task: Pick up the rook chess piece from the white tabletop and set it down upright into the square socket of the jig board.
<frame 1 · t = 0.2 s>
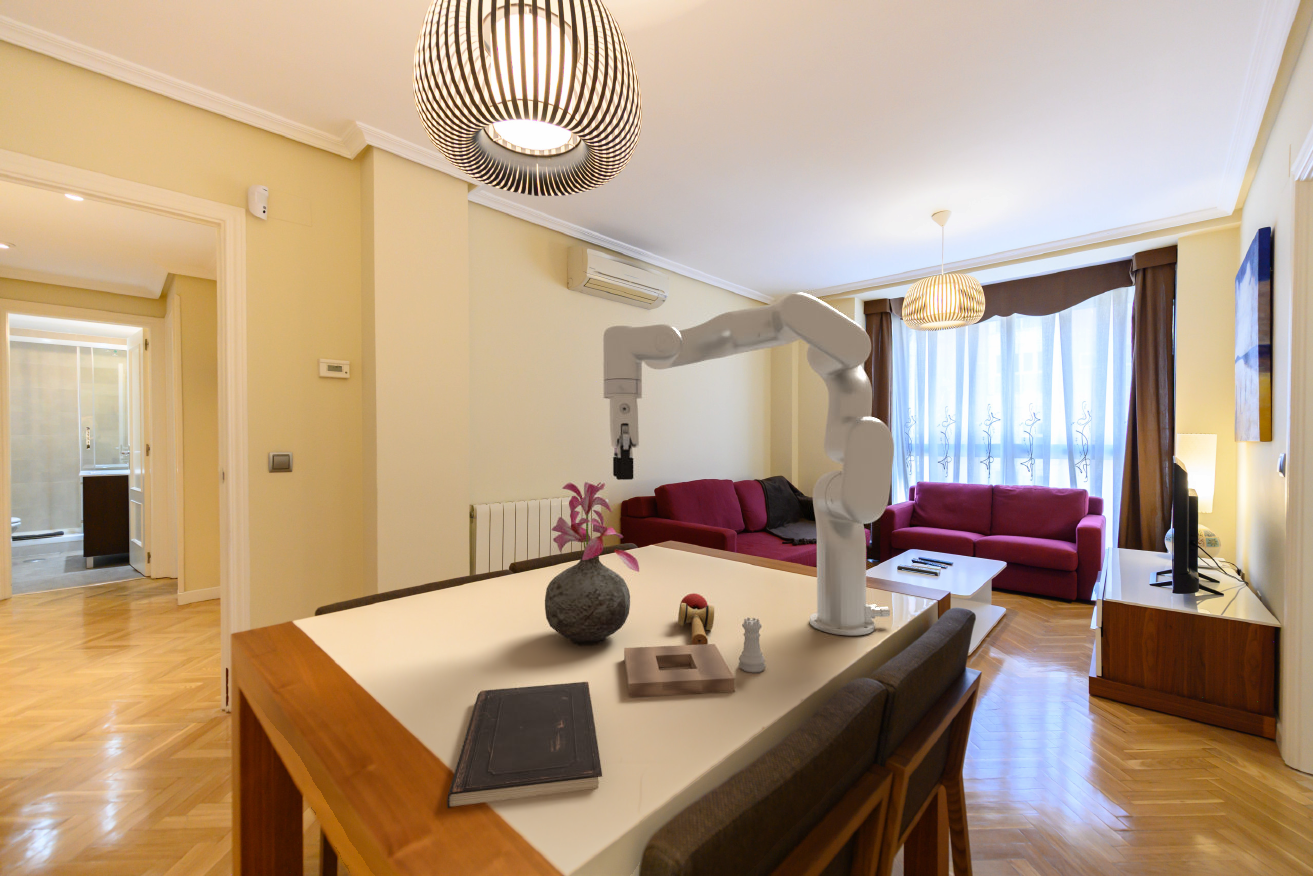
hand: (622, 477, 106), 31 cm above the table, tool pointing down, fingers open, 9 cm apart
vase: (590, 639, 104), on the table
hardcover book: (530, 746, 68), on the table
jig board: (675, 674, 88), on the table
kendama: (696, 634, 107), on the table
rook chess piece: (752, 669, 90), on the table
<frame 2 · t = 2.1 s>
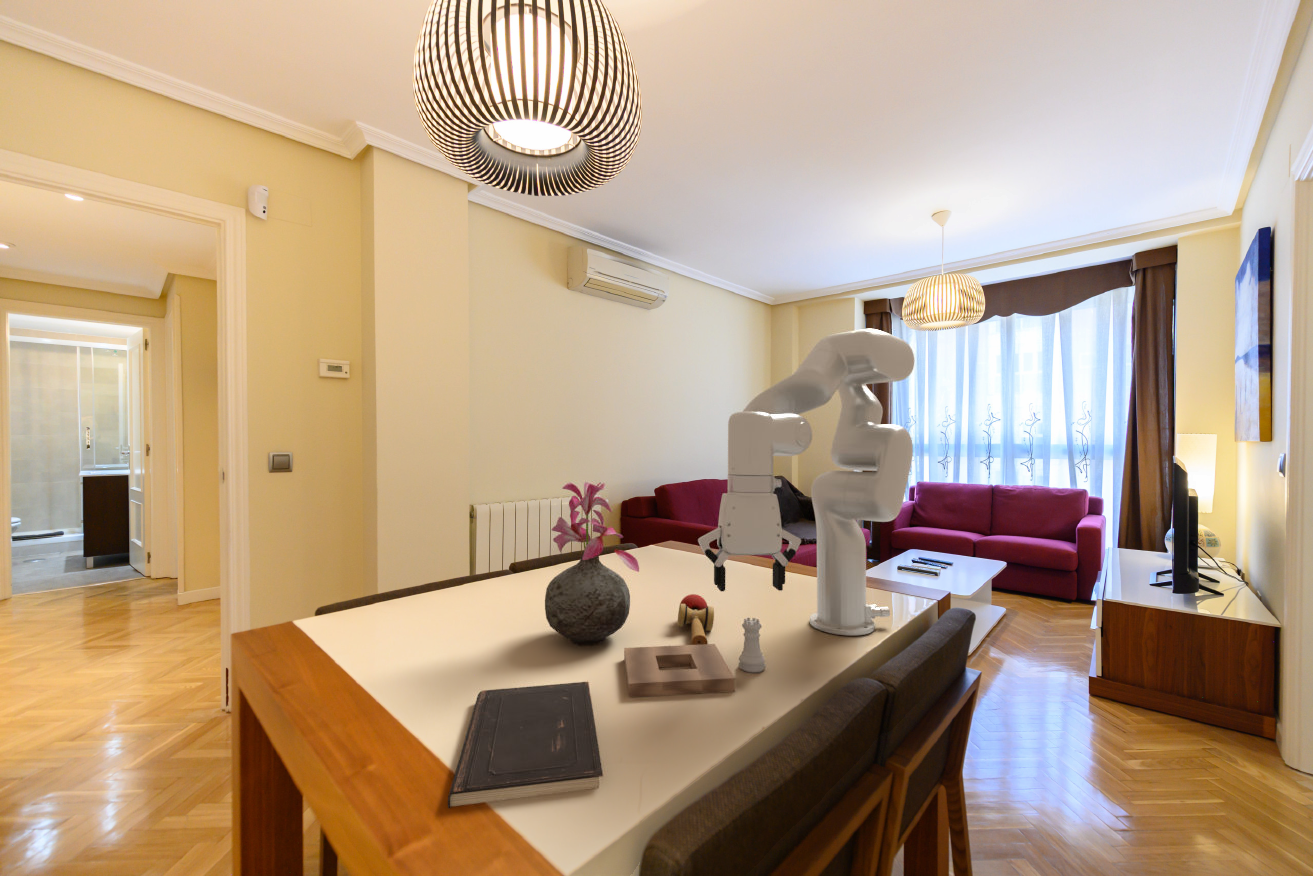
hand: (749, 589, 90), 13 cm above the table, tool pointing down, fingers open, 9 cm apart
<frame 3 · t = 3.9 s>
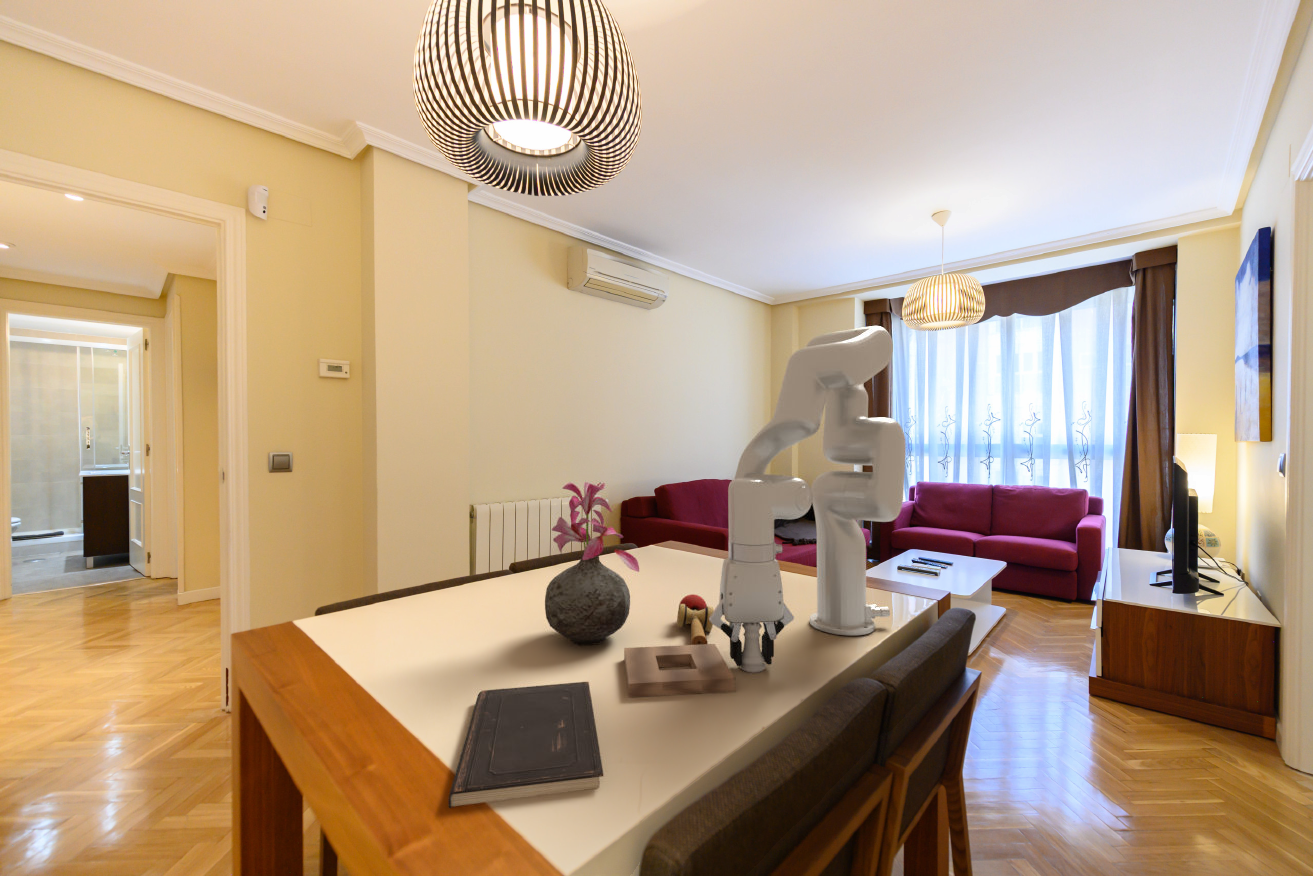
hand: (751, 661, 90), 1 cm above the table, tool pointing down, fingers closed on rook chess piece, 4 cm apart
rook chess piece: (752, 669, 90), on the table, touching gripper
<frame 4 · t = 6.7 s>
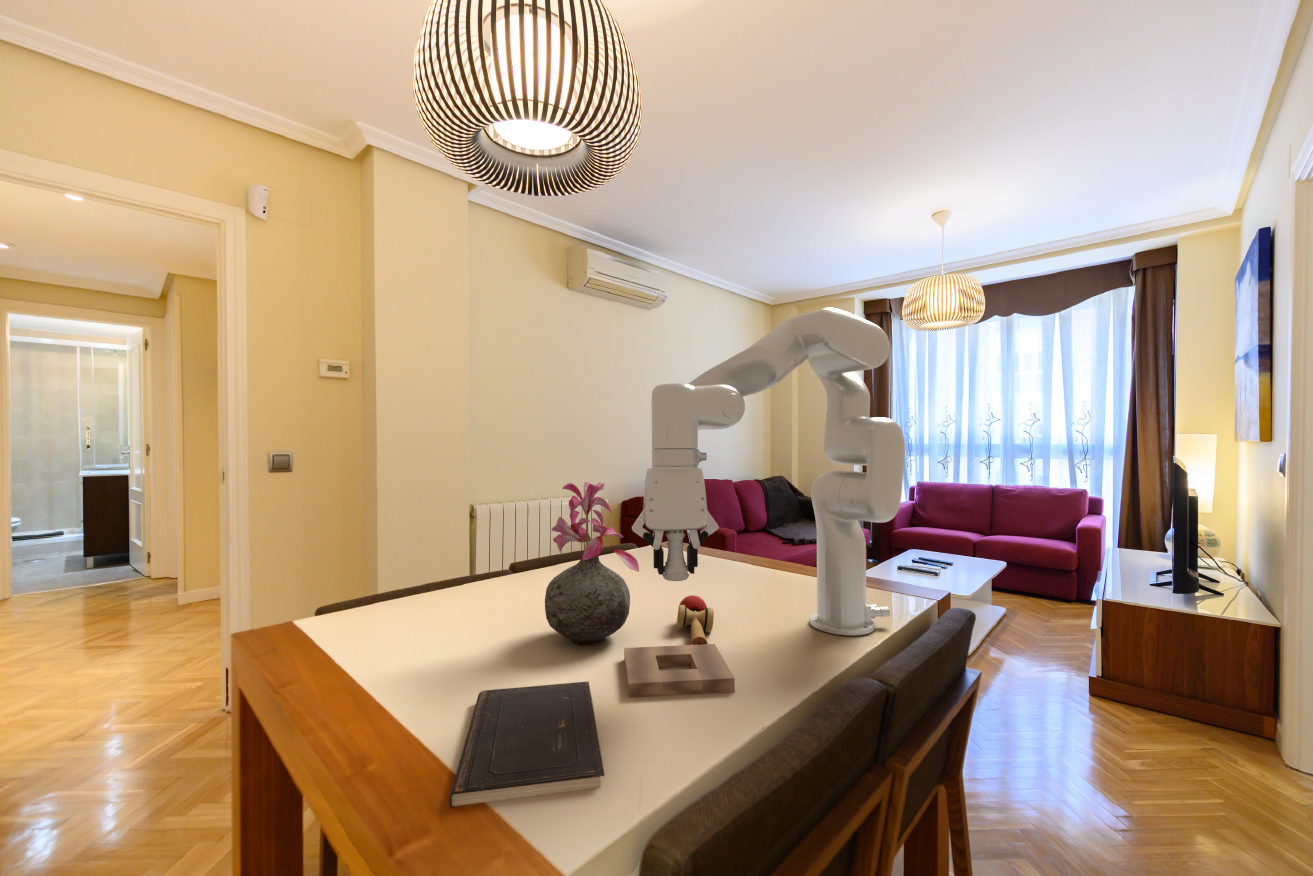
hand: (675, 571, 88), 17 cm above the table, tool pointing down, fingers closed on rook chess piece, 4 cm apart
rook chess piece: (675, 579, 88), point 15 cm above the table, touching gripper
when the fingers open (2 cm above the table, at t = 9.6 s): rook chess piece drops 1 cm, resting in jig board.
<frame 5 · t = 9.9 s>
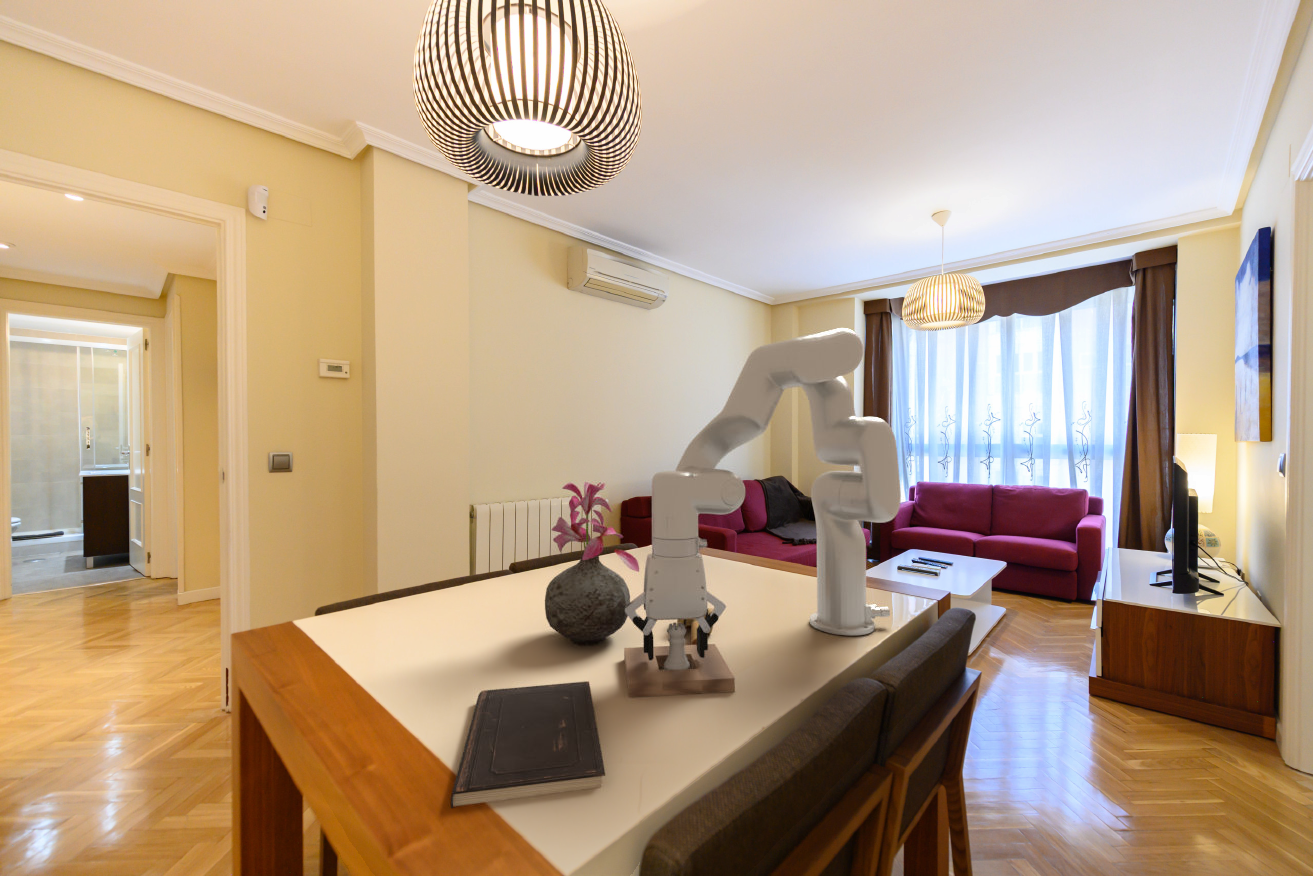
hand: (675, 655, 88), 3 cm above the table, tool pointing down, fingers open, 7 cm apart
rook chess piece: (677, 675, 88), resting in jig board
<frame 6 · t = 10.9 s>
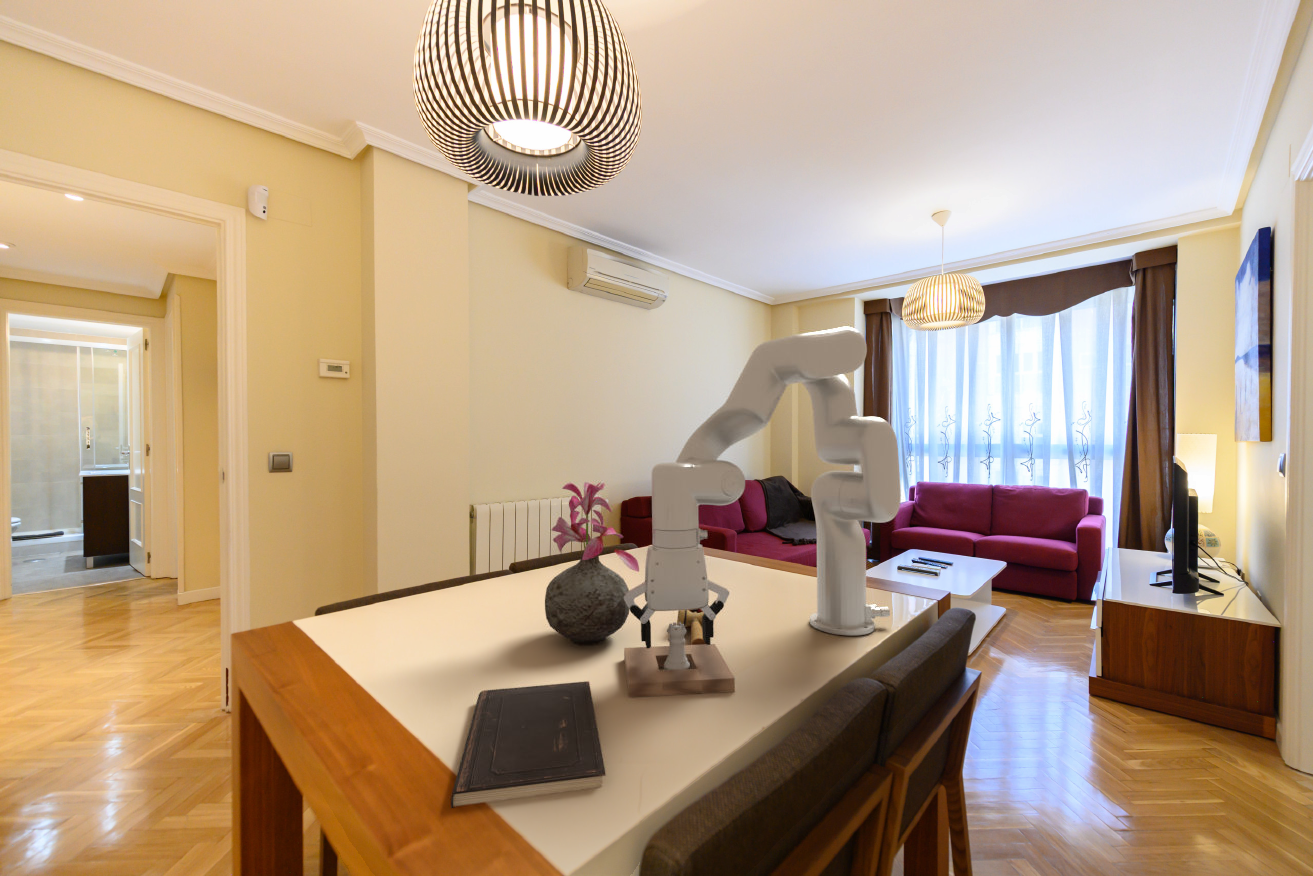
hand: (677, 643, 88), 5 cm above the table, tool pointing down, fingers open, 9 cm apart
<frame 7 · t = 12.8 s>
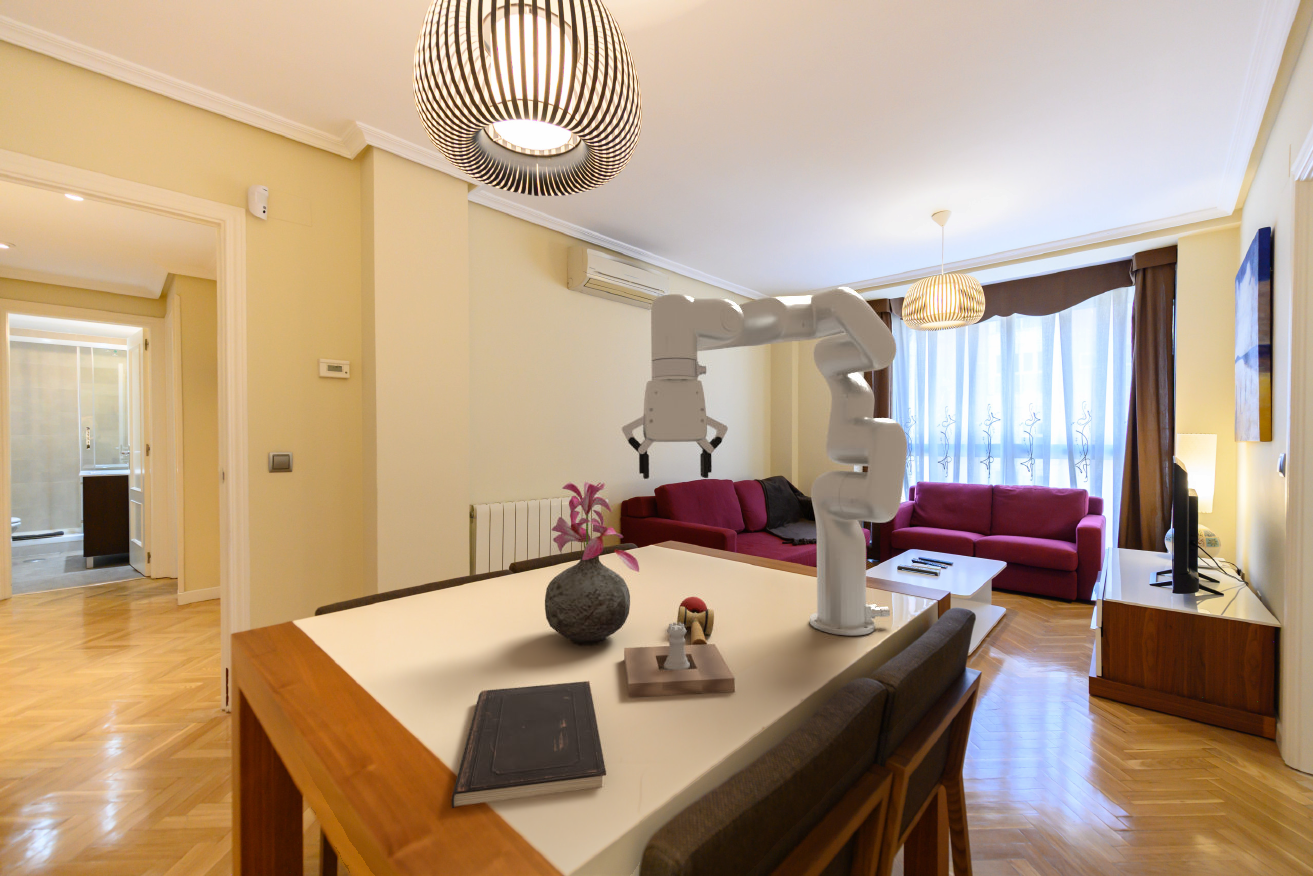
hand: (675, 477, 88), 32 cm above the table, tool pointing down, fingers open, 9 cm apart
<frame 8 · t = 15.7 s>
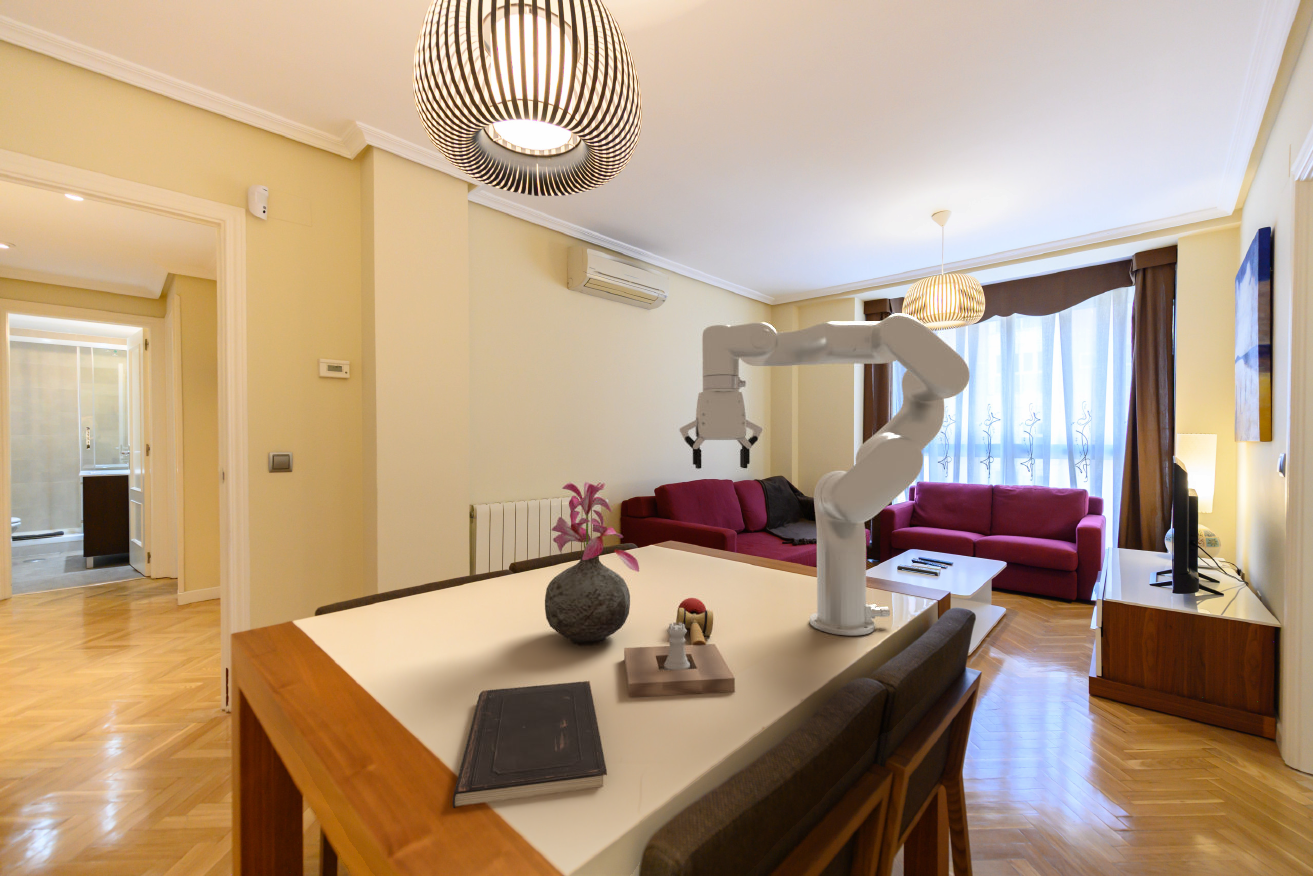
hand: (721, 468, 112), 32 cm above the table, tool pointing down, fingers open, 9 cm apart
kendama: (695, 639, 104), on the table, touching jig board
everything else where it was.
at the end: rook chess piece 0.2 cm off-centre on the jig board, point 0.0 cm above the jig board's base; rook chess piece tilted 0°; the gripper is holding nothing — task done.
